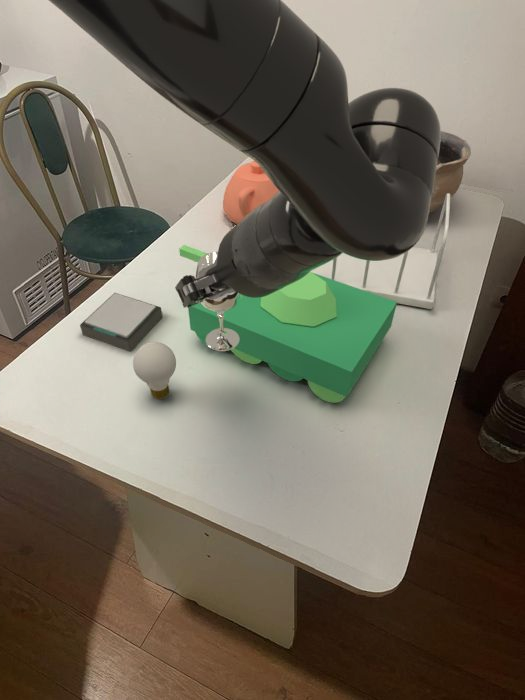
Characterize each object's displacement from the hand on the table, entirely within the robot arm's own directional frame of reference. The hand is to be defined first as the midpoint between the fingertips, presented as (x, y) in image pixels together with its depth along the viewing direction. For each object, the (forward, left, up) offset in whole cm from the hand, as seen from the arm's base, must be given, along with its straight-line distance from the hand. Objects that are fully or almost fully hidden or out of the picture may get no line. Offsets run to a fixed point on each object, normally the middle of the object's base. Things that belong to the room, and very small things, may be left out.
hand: (212, 288), depth 63 cm
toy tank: (+8, +13, -20) cm, 25 cm away
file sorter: (+28, +30, -20) cm, 46 cm away
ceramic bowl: (+41, +56, -20) cm, 72 cm away
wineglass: (+1, -2, -7) cm, 8 cm away
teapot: (+8, +53, -20) cm, 57 cm away
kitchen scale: (-17, +16, -20) cm, 30 cm away
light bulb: (-9, 0, -20) cm, 22 cm away
